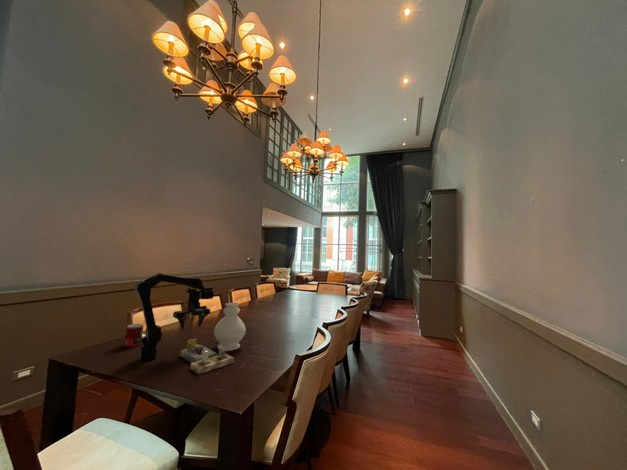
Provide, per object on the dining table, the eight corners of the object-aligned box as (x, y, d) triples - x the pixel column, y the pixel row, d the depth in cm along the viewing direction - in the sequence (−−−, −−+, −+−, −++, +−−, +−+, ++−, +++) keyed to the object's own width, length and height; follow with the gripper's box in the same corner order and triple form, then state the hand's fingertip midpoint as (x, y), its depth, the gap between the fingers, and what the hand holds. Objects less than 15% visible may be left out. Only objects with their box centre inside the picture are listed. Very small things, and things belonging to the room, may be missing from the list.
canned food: (135, 347, 140) (137, 327, 141) (121, 346, 140) (123, 326, 141) (144, 343, 147) (146, 324, 148) (131, 342, 147) (133, 323, 148)
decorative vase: (248, 343, 156) (251, 302, 158) (237, 353, 138) (240, 307, 141) (221, 340, 158) (224, 300, 160) (206, 350, 140) (210, 305, 143)
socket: (195, 365, 121) (196, 355, 122) (180, 356, 131) (181, 346, 132) (216, 359, 130) (217, 349, 130) (200, 350, 140) (201, 341, 140)
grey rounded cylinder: (202, 370, 116) (203, 352, 117) (199, 368, 118) (200, 351, 119) (208, 368, 119) (209, 351, 119) (205, 366, 121) (206, 349, 121)
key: (194, 351, 130) (195, 343, 130) (187, 347, 135) (187, 340, 135) (202, 349, 133) (203, 341, 133) (195, 345, 138) (195, 338, 138)
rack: (198, 374, 112) (200, 360, 113) (190, 368, 117) (191, 355, 118) (233, 362, 126) (234, 350, 127) (224, 358, 131) (225, 346, 132)
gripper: (182, 304, 129) (179, 335, 128) (216, 300, 144) (214, 328, 142) (173, 301, 137) (170, 330, 135) (206, 298, 151) (204, 324, 149)
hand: (191, 328), depth 140 cm, fingers open, 9 cm apart
